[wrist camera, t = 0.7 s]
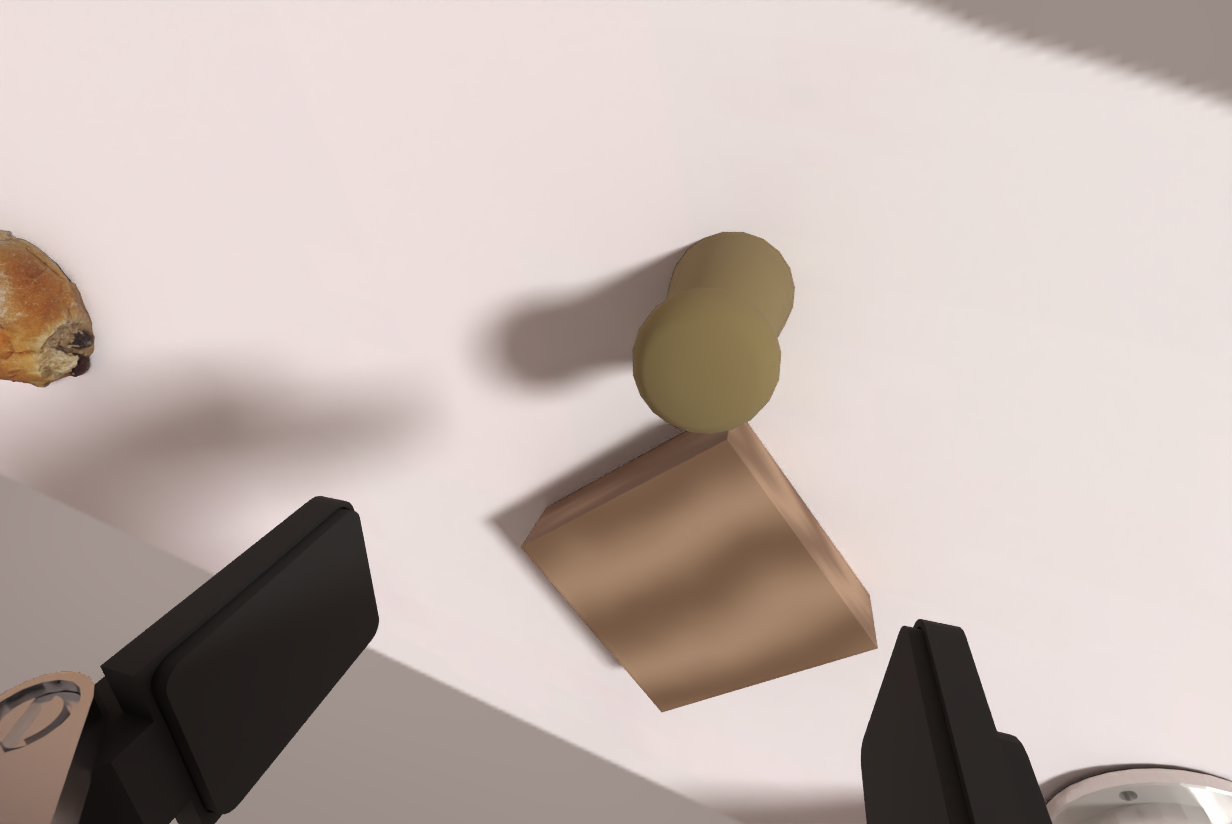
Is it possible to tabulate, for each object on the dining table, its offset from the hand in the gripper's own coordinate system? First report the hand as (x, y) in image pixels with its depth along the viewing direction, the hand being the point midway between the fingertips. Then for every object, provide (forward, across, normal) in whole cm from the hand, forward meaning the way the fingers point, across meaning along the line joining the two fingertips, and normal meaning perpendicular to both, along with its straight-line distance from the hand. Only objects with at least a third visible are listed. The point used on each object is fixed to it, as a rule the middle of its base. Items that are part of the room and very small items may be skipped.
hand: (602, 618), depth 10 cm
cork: (+22, 0, 0) cm, 22 cm away
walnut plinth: (+22, 0, +16) cm, 27 cm away
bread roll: (+22, +47, +6) cm, 53 cm away
